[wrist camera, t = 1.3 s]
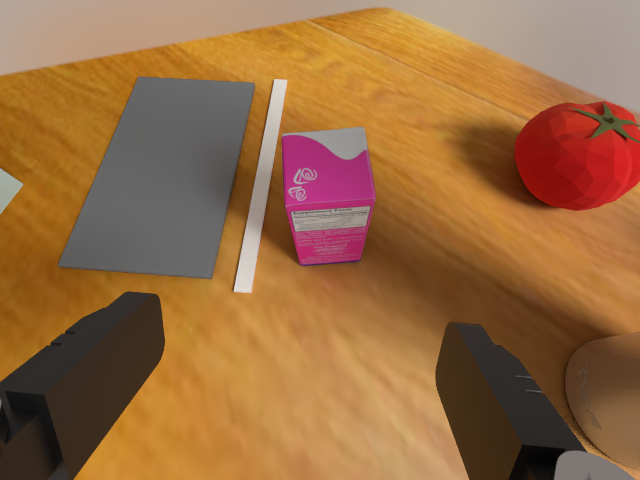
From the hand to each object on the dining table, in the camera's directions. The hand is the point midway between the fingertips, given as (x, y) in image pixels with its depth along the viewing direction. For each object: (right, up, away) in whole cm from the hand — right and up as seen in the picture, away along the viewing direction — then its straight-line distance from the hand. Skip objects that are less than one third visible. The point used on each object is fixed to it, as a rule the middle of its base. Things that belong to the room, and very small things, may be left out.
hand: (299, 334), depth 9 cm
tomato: (+24, +9, +25) cm, 35 cm away
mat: (-15, +11, +25) cm, 31 cm away
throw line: (-5, +10, +25) cm, 27 cm away
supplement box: (+1, +3, +22) cm, 22 cm away
